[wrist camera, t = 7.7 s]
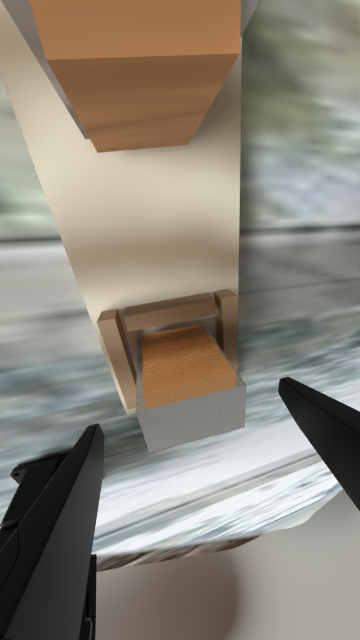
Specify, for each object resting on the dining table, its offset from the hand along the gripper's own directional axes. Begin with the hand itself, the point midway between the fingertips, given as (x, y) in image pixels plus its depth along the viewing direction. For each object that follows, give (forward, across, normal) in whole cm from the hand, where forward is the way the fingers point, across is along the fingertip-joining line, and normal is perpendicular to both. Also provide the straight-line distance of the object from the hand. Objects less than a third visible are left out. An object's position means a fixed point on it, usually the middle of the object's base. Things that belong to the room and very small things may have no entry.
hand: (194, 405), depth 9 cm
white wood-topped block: (+6, 0, 0) cm, 6 cm away
